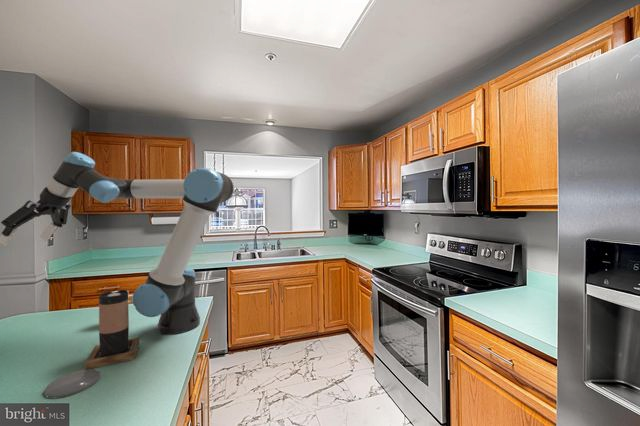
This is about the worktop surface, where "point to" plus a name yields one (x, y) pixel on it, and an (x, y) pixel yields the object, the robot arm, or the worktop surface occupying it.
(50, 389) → the slate coaster
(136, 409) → the worktop surface
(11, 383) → the worktop surface
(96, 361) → the walnut frame
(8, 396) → the worktop surface
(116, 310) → the travel mug
